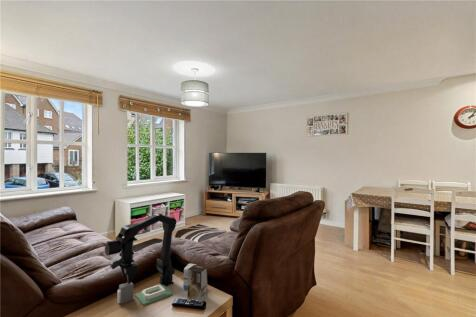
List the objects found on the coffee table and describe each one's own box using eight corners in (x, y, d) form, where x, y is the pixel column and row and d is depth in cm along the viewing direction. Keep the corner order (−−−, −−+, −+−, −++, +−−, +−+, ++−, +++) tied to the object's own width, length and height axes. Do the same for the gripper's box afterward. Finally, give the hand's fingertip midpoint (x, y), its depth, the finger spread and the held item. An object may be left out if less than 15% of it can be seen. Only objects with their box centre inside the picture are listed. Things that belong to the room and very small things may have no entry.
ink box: (190, 290, 138) (191, 270, 139) (182, 289, 139) (183, 269, 140) (196, 283, 147) (196, 263, 147) (188, 282, 148) (189, 263, 148)
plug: (130, 296, 132) (130, 281, 132) (133, 299, 129) (133, 284, 129) (116, 301, 127) (117, 285, 127) (118, 304, 124) (119, 288, 124)
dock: (163, 286, 143) (163, 281, 143) (172, 295, 134) (172, 289, 134) (135, 295, 132) (135, 290, 132) (143, 305, 123) (143, 300, 123)
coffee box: (207, 297, 132) (208, 267, 133) (201, 303, 127) (201, 272, 127) (193, 293, 136) (194, 264, 136) (186, 298, 130) (187, 268, 131)
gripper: (105, 248, 130) (105, 278, 130) (115, 259, 116) (114, 292, 116) (127, 244, 138) (127, 272, 137) (139, 254, 124) (138, 285, 123)
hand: (126, 280), depth 128 cm, fingers open, 9 cm apart
